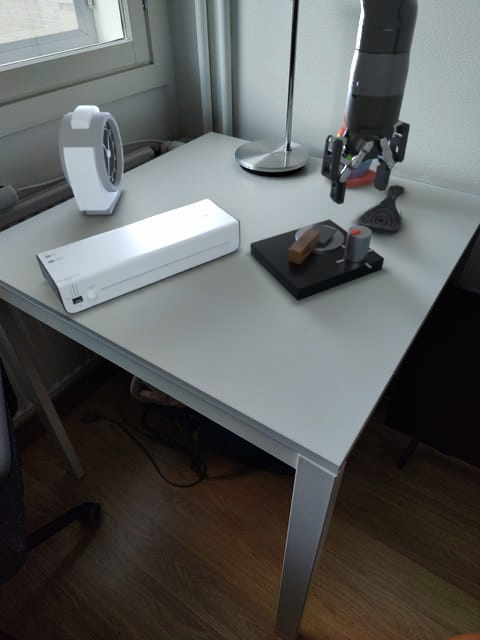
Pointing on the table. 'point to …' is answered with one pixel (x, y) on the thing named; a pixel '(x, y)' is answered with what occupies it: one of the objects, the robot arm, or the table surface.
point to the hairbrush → (384, 213)
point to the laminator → (138, 254)
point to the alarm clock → (92, 158)
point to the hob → (311, 264)
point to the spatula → (310, 242)
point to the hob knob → (357, 243)
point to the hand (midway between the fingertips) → (358, 195)
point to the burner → (330, 245)
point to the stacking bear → (358, 169)
